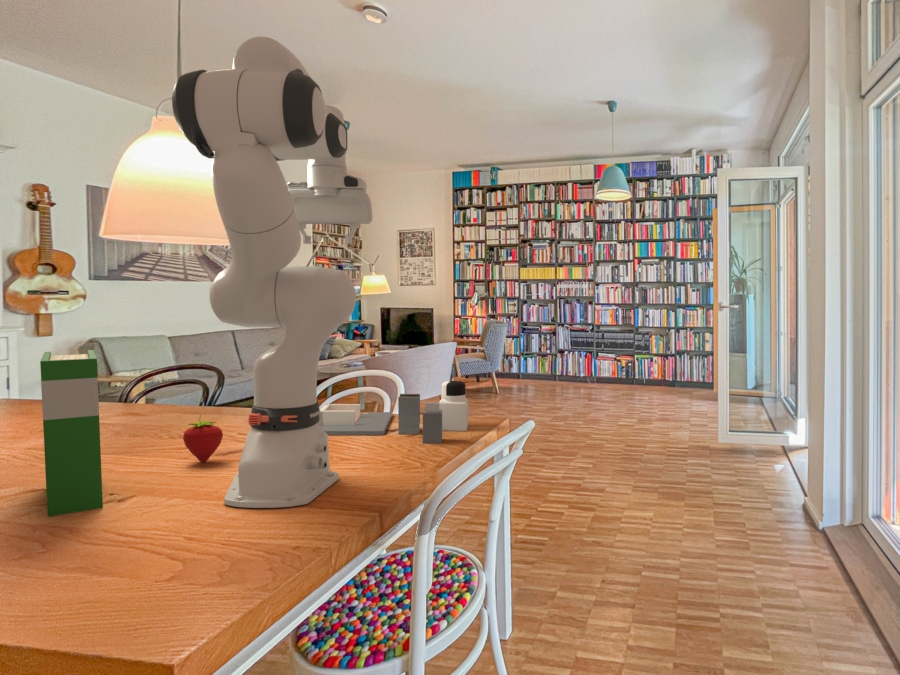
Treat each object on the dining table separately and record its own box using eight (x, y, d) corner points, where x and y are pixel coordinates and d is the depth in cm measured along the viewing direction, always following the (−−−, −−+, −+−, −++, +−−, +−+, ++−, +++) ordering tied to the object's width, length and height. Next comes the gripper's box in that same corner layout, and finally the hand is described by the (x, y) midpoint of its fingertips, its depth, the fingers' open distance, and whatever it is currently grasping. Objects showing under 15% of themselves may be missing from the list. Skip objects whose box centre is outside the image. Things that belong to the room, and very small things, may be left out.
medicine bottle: (468, 425, 161) (468, 379, 160) (466, 431, 154) (466, 383, 153) (441, 424, 161) (441, 379, 160) (438, 430, 154) (437, 383, 153)
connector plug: (442, 443, 141) (442, 404, 141) (422, 443, 141) (422, 404, 141) (442, 439, 146) (442, 401, 145) (423, 439, 146) (423, 401, 145)
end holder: (383, 435, 149) (383, 416, 149) (284, 435, 149) (284, 416, 149) (392, 415, 173) (392, 399, 173) (306, 415, 173) (306, 399, 173)
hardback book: (50, 486, 110) (44, 351, 108) (98, 479, 114) (93, 349, 112) (47, 516, 95) (40, 361, 93) (102, 508, 99) (96, 358, 97)
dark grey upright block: (418, 434, 150) (418, 397, 150) (398, 434, 150) (398, 397, 150) (420, 428, 156) (419, 393, 156) (400, 428, 156) (400, 393, 156)
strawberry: (223, 464, 124) (222, 415, 123) (182, 467, 121) (180, 417, 121) (223, 457, 129) (222, 409, 129) (184, 460, 127) (183, 412, 126)
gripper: (277, 179, 137) (278, 242, 138) (369, 179, 137) (370, 242, 138) (284, 184, 143) (285, 244, 144) (373, 184, 143) (373, 245, 144)
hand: (327, 243), depth 141 cm, fingers open, 8 cm apart
